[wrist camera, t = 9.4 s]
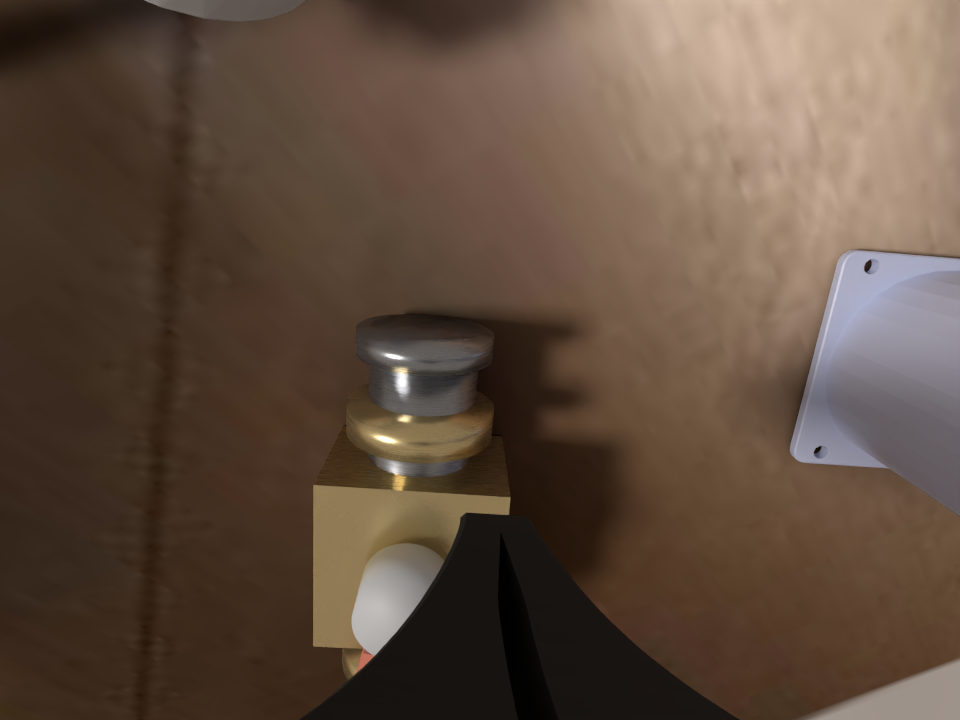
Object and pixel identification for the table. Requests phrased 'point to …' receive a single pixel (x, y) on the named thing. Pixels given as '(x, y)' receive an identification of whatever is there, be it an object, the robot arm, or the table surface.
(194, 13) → the mechanical valve
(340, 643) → the valve pipe
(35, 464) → the table surface
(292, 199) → the table surface
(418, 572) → the lever
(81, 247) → the table surface
